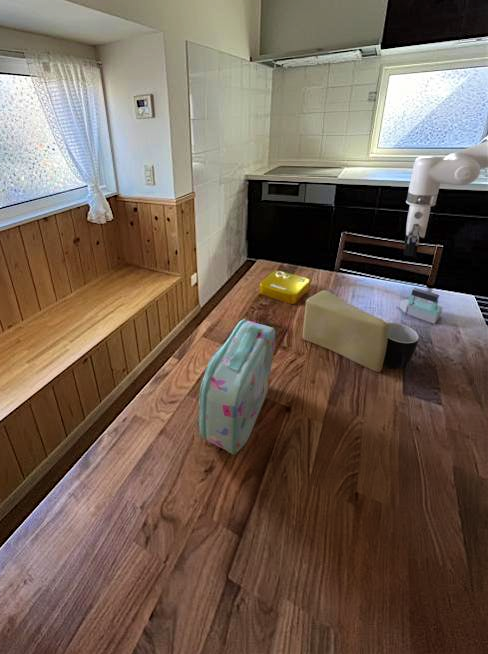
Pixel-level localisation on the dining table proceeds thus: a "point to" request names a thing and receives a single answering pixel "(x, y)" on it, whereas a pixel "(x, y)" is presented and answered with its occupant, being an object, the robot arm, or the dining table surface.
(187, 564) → the dining table surface
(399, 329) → the mug
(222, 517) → the dining table surface
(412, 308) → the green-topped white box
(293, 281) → the element tile
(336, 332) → the cheese
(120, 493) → the dining table surface
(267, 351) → the lunch box
